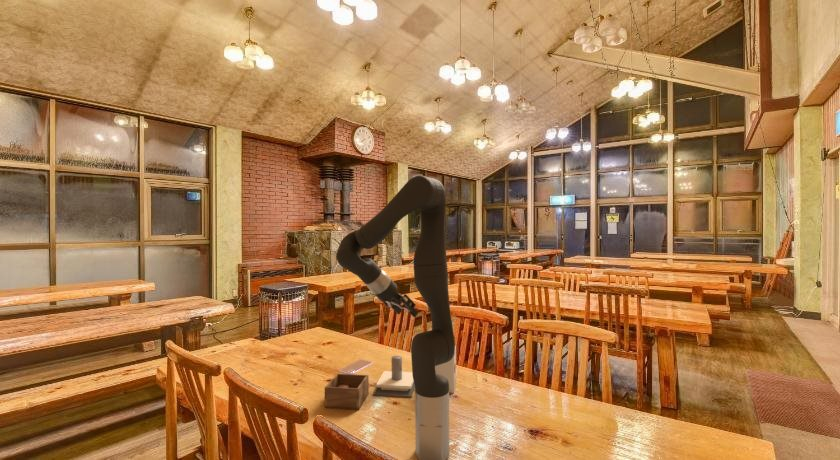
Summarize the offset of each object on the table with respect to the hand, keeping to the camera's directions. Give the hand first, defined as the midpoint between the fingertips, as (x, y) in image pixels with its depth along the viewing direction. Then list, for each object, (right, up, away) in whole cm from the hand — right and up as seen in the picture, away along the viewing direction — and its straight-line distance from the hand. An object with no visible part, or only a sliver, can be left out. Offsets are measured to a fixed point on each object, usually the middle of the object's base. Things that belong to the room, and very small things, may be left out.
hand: (408, 313), depth 133 cm
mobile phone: (-24, -31, +33) cm, 51 cm away
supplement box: (+13, -31, +11) cm, 36 cm away
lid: (-5, -30, +13) cm, 33 cm away
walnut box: (-21, -31, +1) cm, 38 cm away
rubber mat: (-5, -31, +13) cm, 34 cm away
